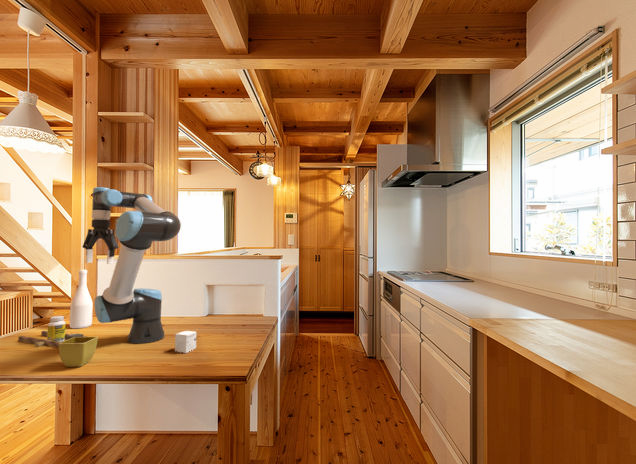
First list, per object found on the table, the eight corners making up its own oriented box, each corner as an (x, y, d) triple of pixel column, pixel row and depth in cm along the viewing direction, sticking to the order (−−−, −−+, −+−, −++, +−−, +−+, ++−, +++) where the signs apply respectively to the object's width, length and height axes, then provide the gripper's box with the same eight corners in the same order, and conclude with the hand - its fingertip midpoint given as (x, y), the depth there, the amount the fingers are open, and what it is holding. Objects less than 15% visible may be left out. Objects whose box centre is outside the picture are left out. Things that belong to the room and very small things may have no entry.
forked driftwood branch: (98, 340, 146) (98, 331, 146) (63, 350, 132) (63, 341, 132) (49, 333, 156) (49, 325, 156) (11, 342, 141) (12, 333, 141)
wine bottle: (83, 329, 164) (85, 270, 165) (64, 328, 164) (67, 270, 165) (96, 324, 174) (98, 269, 175) (78, 324, 174) (81, 268, 175)
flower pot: (73, 360, 122) (74, 336, 122) (97, 359, 122) (98, 336, 123) (56, 369, 113) (57, 343, 113) (82, 369, 114) (83, 343, 114)
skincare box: (186, 353, 131) (186, 335, 131) (174, 351, 133) (174, 333, 133) (196, 349, 136) (196, 331, 137) (185, 347, 138) (185, 330, 139)
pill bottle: (54, 344, 140) (55, 318, 140) (43, 343, 141) (44, 318, 142) (68, 340, 146) (69, 315, 146) (57, 339, 147) (58, 315, 148)
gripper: (127, 219, 155) (126, 263, 155) (89, 220, 163) (88, 261, 162) (113, 218, 148) (112, 264, 148) (74, 219, 156) (73, 262, 155)
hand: (99, 263), depth 155 cm, fingers open, 13 cm apart
